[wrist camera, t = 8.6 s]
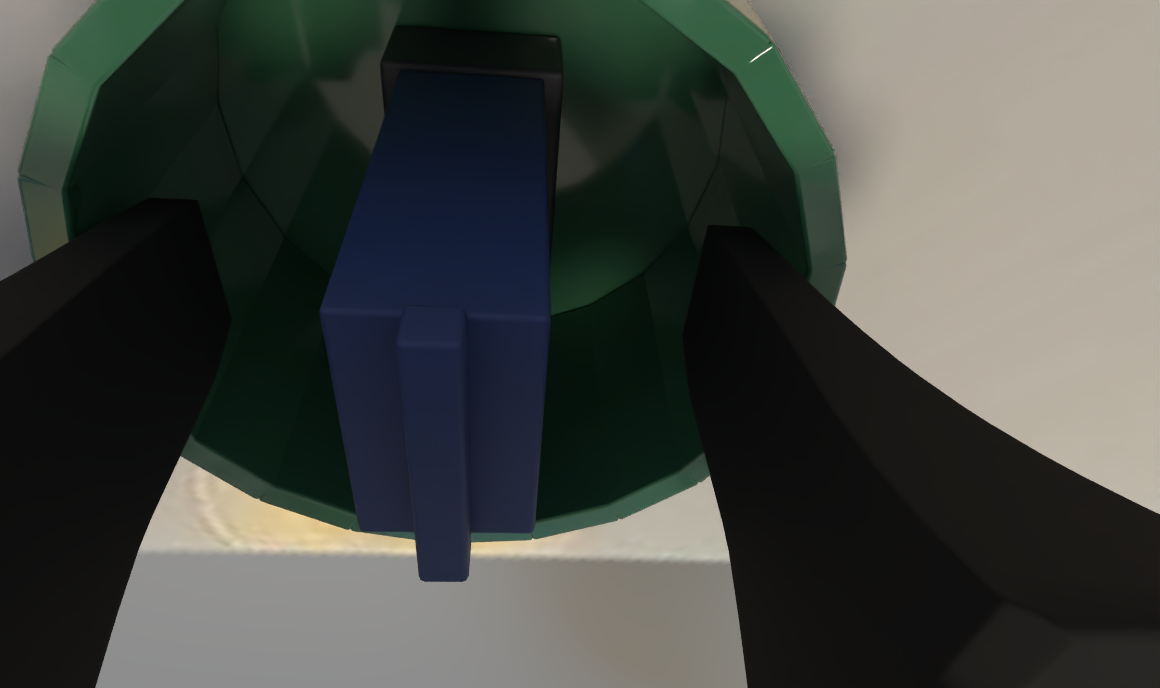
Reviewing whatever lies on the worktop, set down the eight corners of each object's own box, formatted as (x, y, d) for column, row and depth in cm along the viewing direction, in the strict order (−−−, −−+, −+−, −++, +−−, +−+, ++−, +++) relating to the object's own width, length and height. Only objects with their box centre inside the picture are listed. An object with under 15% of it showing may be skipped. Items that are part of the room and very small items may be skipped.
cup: (461, 384, 19) (438, 604, 14) (79, 70, 13) (-150, 270, 9) (831, 164, 15) (954, 368, 11) (518, -394, 10) (504, -452, 5)
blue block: (548, 228, 15) (558, 584, 9) (407, 221, 15) (325, 584, 9) (561, 31, 13) (587, 349, 7) (392, 19, 12) (263, 339, 6)
